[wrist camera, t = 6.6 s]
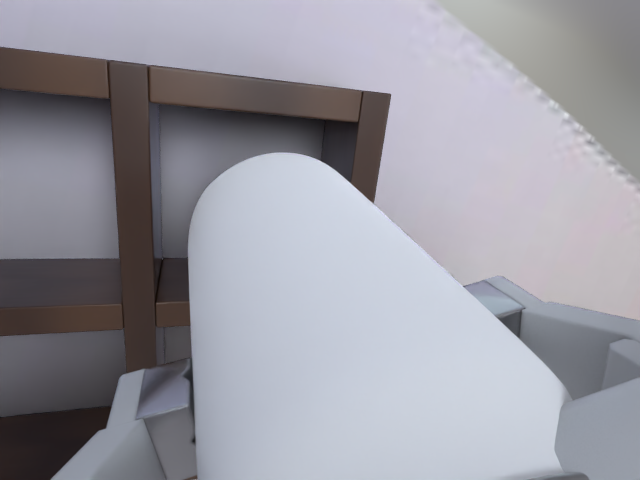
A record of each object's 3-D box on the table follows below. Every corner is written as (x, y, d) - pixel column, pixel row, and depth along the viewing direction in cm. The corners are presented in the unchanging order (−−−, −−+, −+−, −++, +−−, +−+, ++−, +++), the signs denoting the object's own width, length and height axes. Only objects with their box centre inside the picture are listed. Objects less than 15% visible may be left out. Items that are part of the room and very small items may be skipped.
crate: (-45, 440, 21) (-101, 527, 17) (-146, 30, 15) (-276, 13, 11) (312, 399, 26) (333, 458, 22) (352, 90, 20) (391, 93, 16)
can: (230, 115, 13) (408, 424, 3) (386, 188, 16) (745, 472, 6) (160, 280, 15) (121, 821, 5) (311, 319, 18) (486, 709, 8)
